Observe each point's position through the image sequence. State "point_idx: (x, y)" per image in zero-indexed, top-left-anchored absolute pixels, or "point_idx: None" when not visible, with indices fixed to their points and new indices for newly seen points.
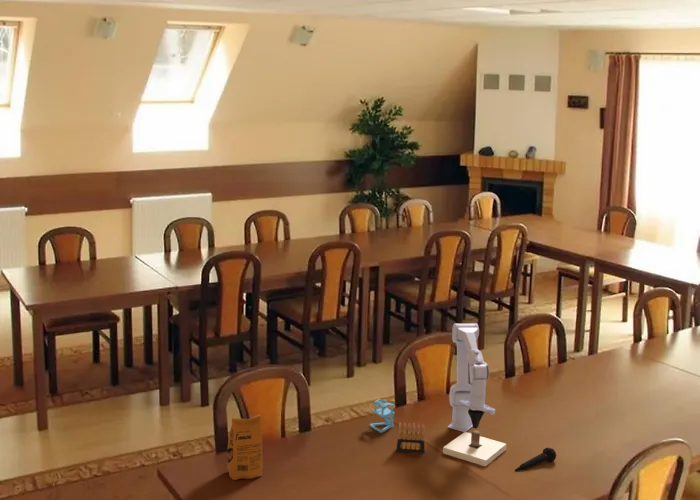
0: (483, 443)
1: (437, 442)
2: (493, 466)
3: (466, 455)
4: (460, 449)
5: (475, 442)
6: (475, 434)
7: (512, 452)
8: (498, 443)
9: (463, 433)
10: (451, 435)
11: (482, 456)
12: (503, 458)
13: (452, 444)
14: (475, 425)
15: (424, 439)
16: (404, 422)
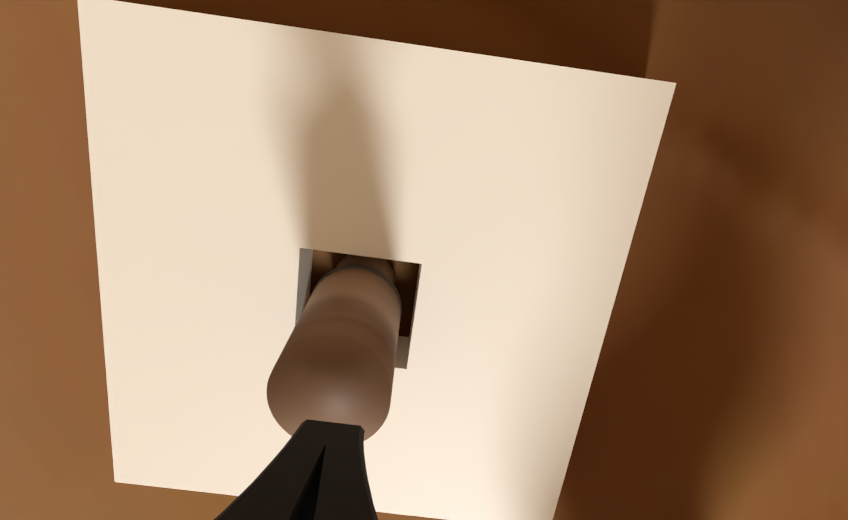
0: None
1: (751, 294)
2: (60, 57)
3: (354, 36)
4: (465, 134)
5: (326, 292)
6: (310, 343)
7: (77, 422)
8: (177, 456)
9: (552, 495)
10: (654, 474)
11: (165, 83)
12: (77, 280)
13: (590, 214)
14: (294, 451)
15: None
16: None
